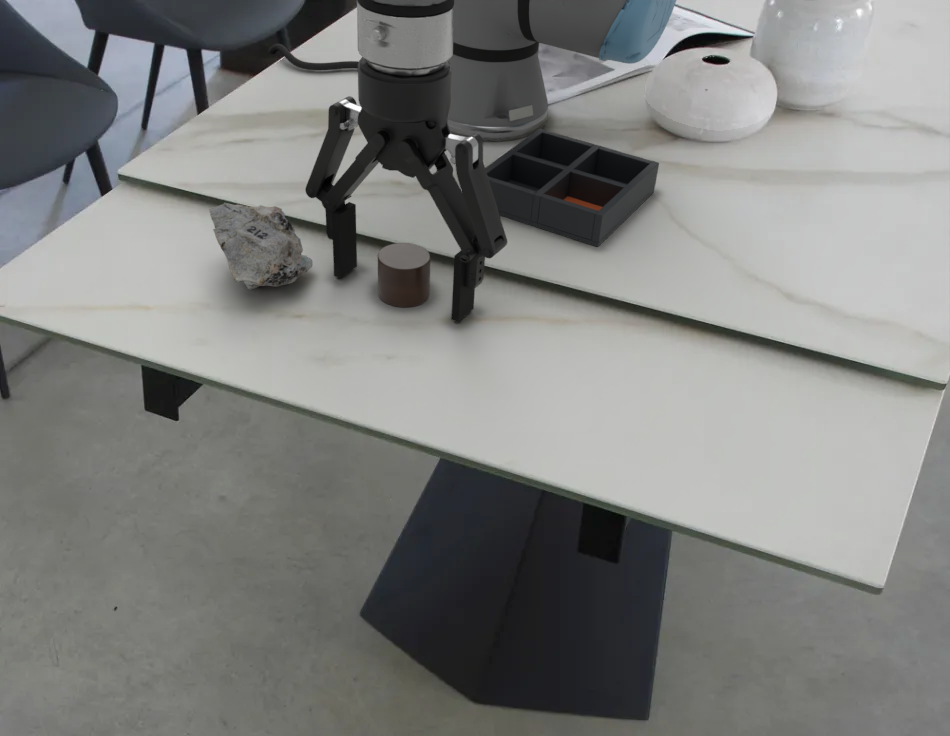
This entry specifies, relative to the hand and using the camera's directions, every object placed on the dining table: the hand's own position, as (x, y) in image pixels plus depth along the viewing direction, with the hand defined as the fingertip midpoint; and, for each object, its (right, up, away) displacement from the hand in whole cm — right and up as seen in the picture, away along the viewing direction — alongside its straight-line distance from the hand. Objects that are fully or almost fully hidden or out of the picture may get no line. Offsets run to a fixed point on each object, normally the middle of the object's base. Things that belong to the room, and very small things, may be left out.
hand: (402, 292), depth 96 cm
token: (0, 0, 0) cm, 0 cm away
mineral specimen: (-13, +1, +1) cm, 13 cm away
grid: (+17, +13, +16) cm, 27 cm away
